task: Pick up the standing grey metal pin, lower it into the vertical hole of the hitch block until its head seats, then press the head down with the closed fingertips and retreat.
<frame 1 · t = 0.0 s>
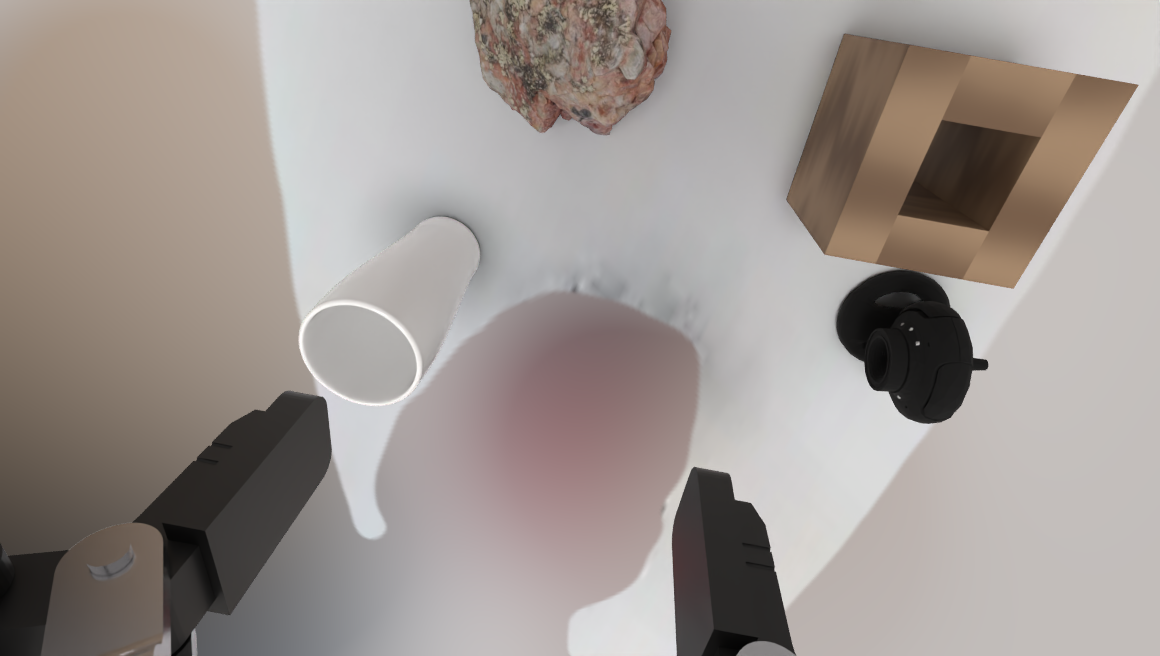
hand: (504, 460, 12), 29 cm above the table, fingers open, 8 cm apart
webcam: (887, 314, 41), on the table
drinking glass: (448, 247, 42), on the table
hitch block: (892, 136, 35), on the table
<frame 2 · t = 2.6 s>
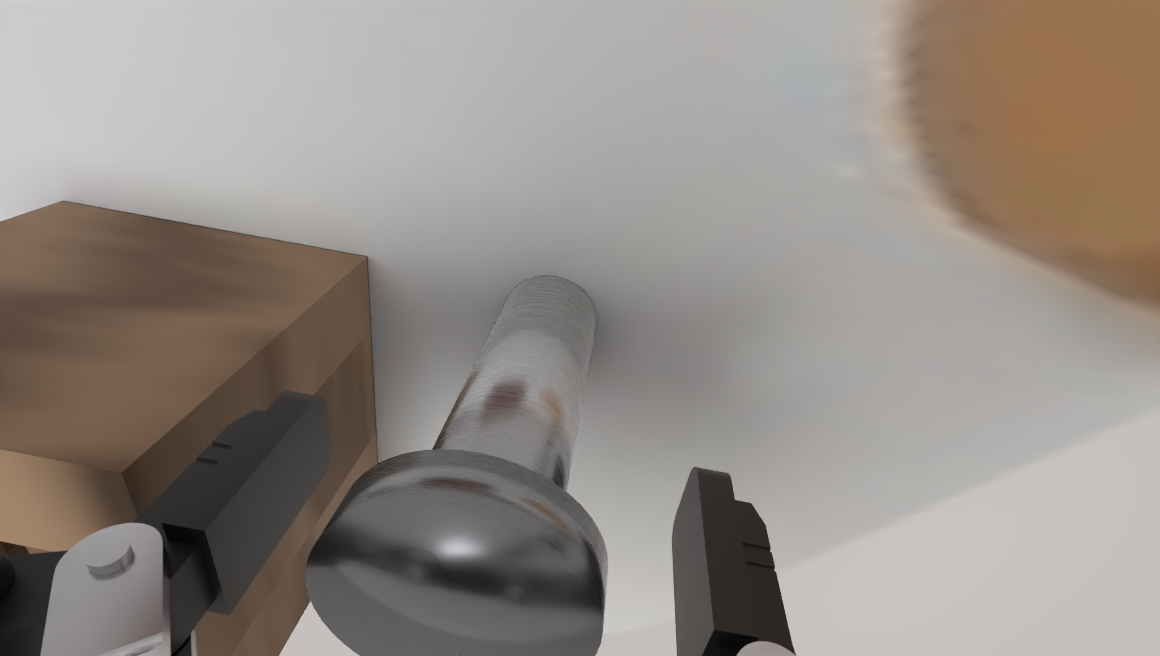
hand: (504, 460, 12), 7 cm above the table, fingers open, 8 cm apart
pin: (549, 318, 18), on the table
hitch block: (239, 358, 20), on the table
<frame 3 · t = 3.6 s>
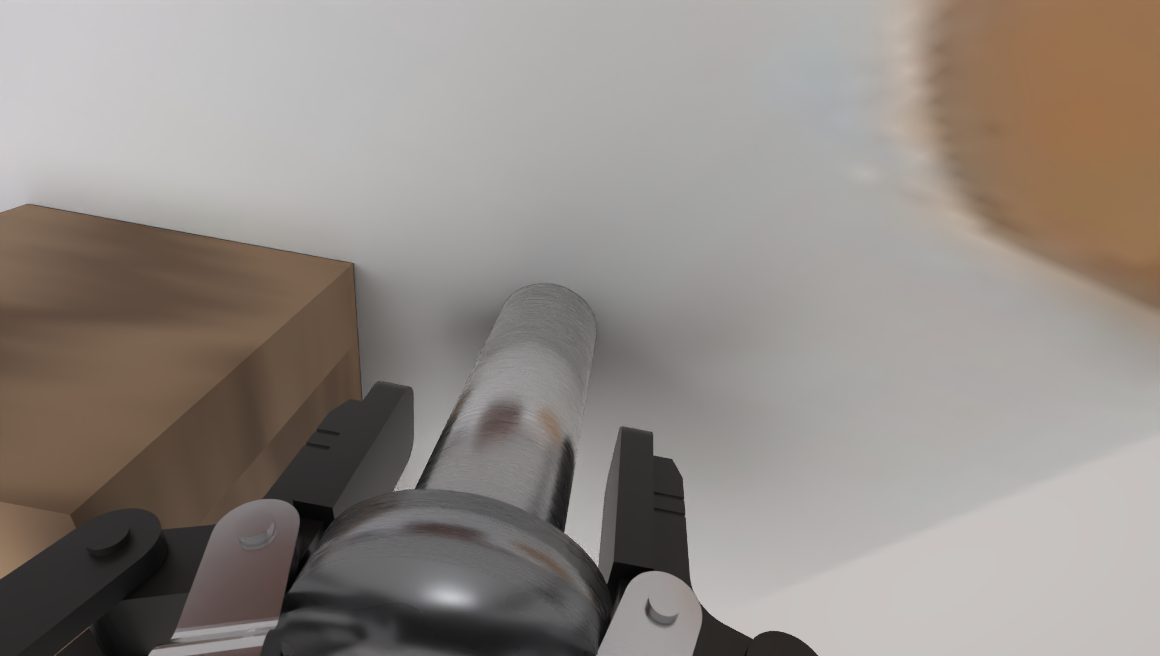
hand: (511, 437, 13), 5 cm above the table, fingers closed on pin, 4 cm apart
pin: (547, 327, 17), on the table, touching gripper
hitch block: (219, 369, 19), on the table
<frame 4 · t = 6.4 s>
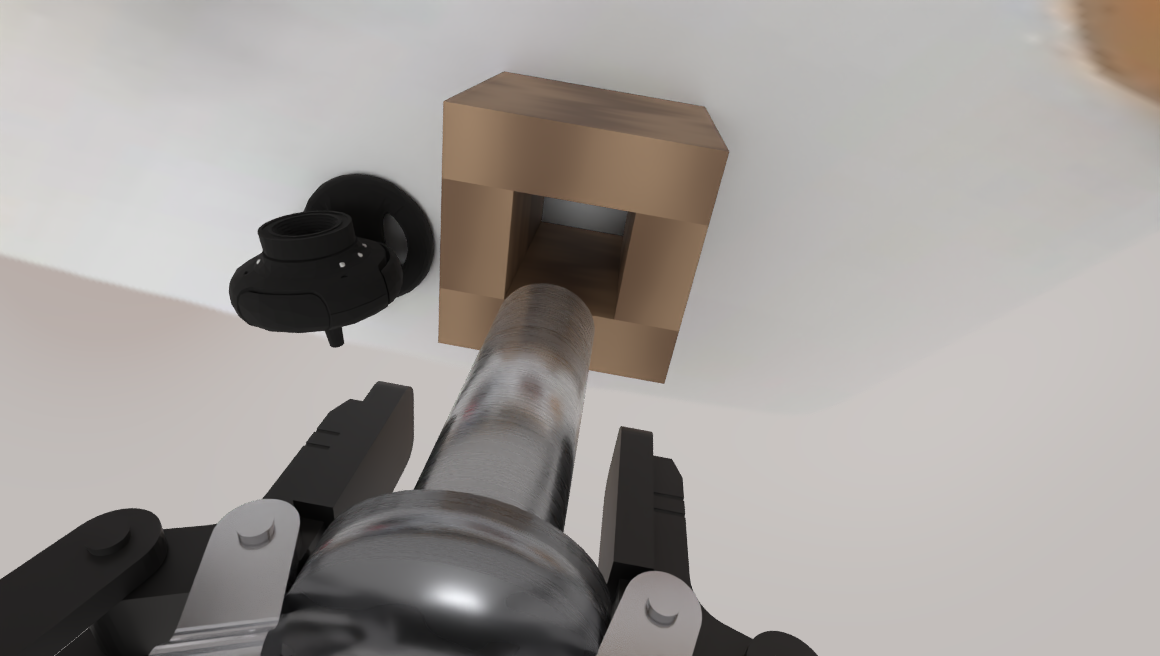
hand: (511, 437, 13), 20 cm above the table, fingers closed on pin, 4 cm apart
pin: (545, 327, 17), point 15 cm above the table, touching gripper
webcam: (374, 234, 33), on the table
hitch block: (588, 188, 30), on the table
when the fingers open (10 cm above the table, at t = 9.1 s): pin drops 5 cm, resting on hitch block.
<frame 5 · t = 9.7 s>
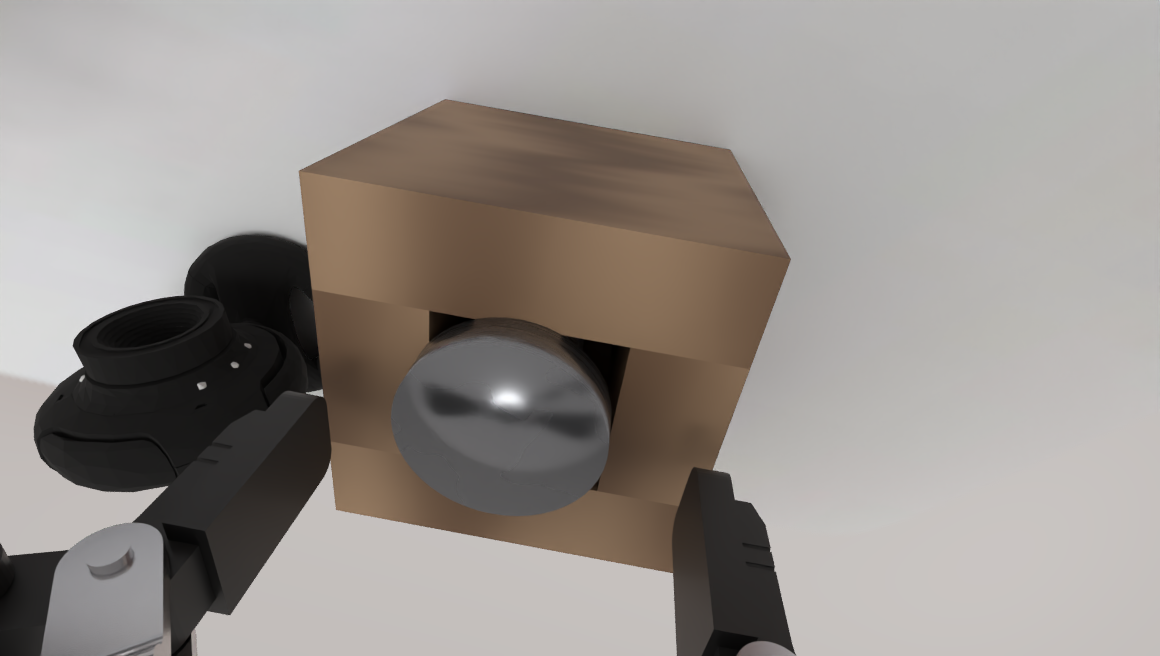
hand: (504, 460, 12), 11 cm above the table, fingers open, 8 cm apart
pin: (559, 260, 22), resting on hitch block
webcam: (286, 309, 25), on the table
hitch block: (567, 256, 22), on the table
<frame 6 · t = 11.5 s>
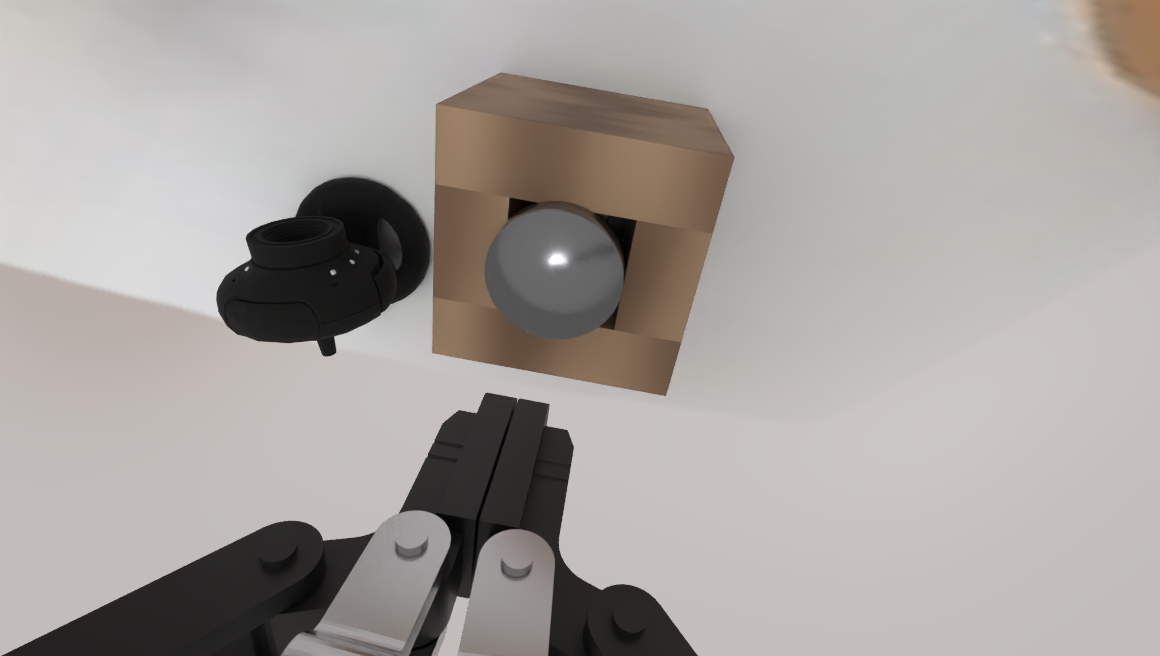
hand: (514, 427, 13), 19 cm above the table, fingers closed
pin: (581, 194, 29), resting on hitch block
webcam: (368, 239, 32), on the table
hitch block: (587, 192, 29), on the table
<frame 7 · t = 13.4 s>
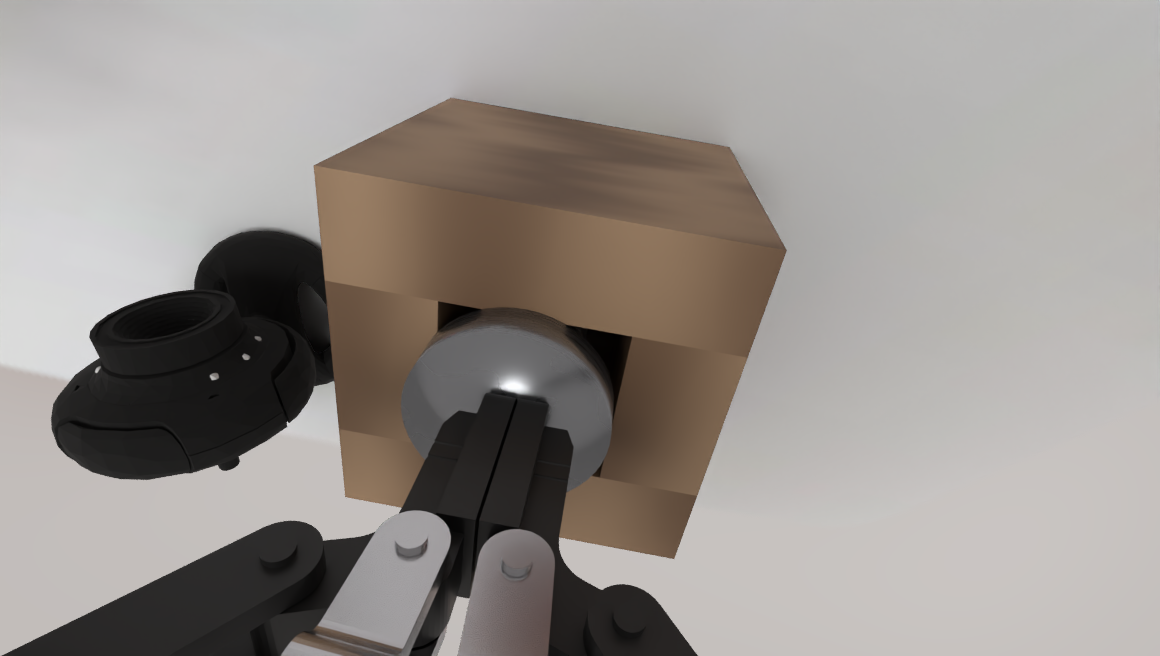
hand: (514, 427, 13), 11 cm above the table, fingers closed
pin: (562, 255, 22), resting on hitch block, touching gripper
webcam: (294, 304, 25), on the table
hitch block: (570, 252, 22), on the table
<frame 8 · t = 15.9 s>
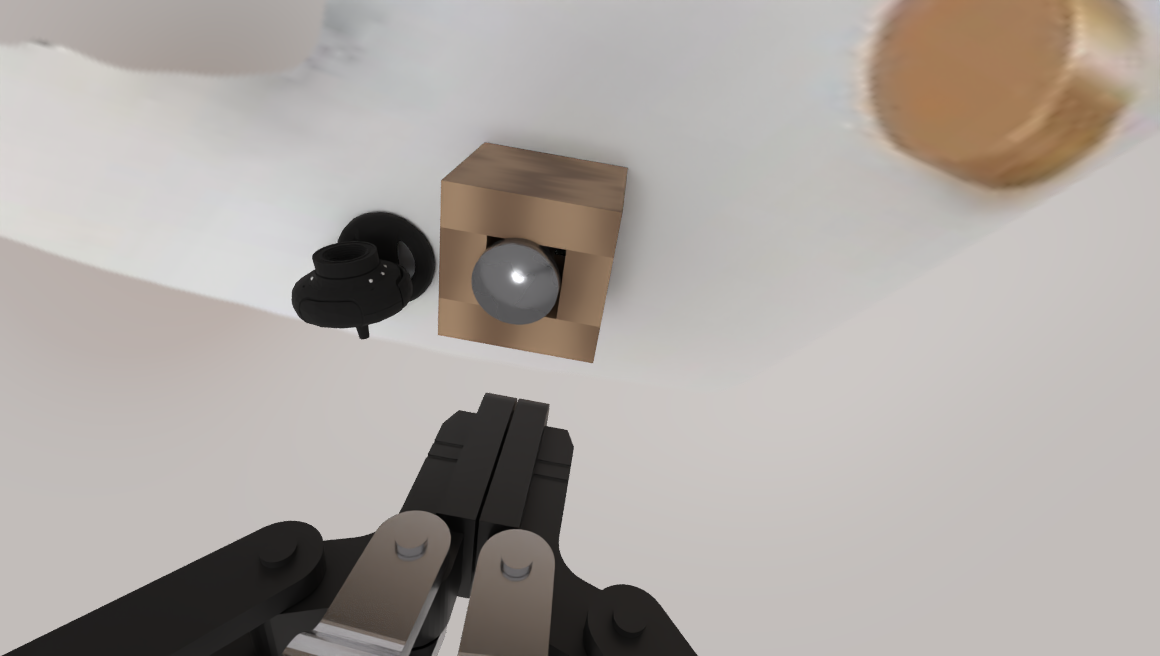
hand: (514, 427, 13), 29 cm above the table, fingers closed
pin: (543, 225, 41), resting on hitch block
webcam: (390, 255, 44), on the table
hitch block: (547, 223, 41), on the table
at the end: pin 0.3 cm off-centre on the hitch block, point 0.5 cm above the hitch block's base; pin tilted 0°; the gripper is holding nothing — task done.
